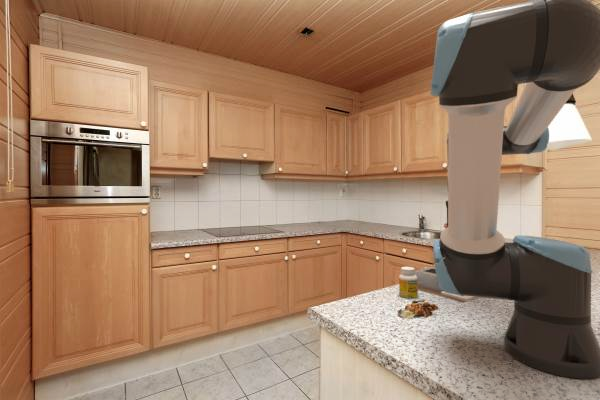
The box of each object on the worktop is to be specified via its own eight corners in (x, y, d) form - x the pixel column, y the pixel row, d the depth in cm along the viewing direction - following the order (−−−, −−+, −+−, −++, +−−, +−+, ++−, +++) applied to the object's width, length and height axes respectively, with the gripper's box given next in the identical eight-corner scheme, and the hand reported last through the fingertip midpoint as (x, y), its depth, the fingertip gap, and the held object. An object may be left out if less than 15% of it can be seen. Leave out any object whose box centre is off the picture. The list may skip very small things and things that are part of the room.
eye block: (441, 292, 96) (441, 277, 96) (413, 285, 104) (413, 270, 104) (458, 286, 102) (458, 272, 101) (430, 280, 110) (430, 266, 110)
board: (463, 306, 87) (463, 302, 87) (406, 289, 103) (406, 286, 103) (490, 294, 96) (489, 291, 96) (434, 281, 112) (434, 278, 112)
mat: (466, 301, 88) (466, 299, 88) (440, 293, 95) (440, 292, 95) (483, 294, 94) (483, 292, 94) (458, 287, 101) (458, 286, 101)
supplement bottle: (408, 295, 98) (407, 265, 97) (421, 300, 93) (421, 268, 93) (395, 297, 95) (395, 267, 95) (408, 303, 90) (408, 271, 90)
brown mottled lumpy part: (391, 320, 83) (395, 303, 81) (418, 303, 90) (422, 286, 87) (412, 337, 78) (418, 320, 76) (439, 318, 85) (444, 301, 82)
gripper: (457, 178, 86) (458, 261, 86) (488, 179, 96) (488, 253, 96) (433, 180, 92) (434, 256, 93) (463, 180, 102) (464, 249, 102)
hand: (461, 254), depth 94 cm, fingers closed on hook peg, 5 cm apart
